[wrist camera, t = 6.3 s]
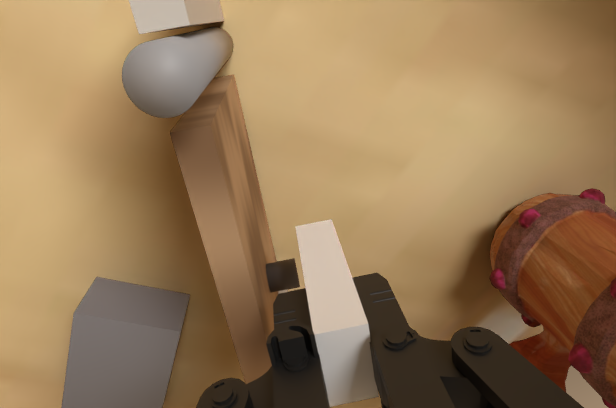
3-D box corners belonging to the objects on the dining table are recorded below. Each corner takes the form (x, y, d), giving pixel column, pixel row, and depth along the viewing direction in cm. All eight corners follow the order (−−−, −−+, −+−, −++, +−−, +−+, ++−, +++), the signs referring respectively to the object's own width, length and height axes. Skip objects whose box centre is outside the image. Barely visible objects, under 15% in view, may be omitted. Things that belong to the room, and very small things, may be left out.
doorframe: (176, -43, 21) (52, -130, 9) (212, -49, 21) (141, -146, 9) (261, 291, 30) (261, 500, 17) (287, 286, 30) (306, 491, 17)
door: (212, 78, 24) (169, 132, 13) (259, 69, 24) (257, 115, 13) (258, 264, 28) (256, 420, 17) (297, 256, 28) (320, 407, 18)
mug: (512, 157, 28) (762, 297, 14) (616, 187, 29) (931, 340, 15) (423, 337, 33) (541, 569, 19) (515, 354, 34) (685, 579, 21)
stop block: (98, 274, 28) (73, 313, 25) (190, 292, 29) (180, 331, 26) (81, 387, 32) (57, 436, 28) (164, 399, 33) (152, 447, 29)
